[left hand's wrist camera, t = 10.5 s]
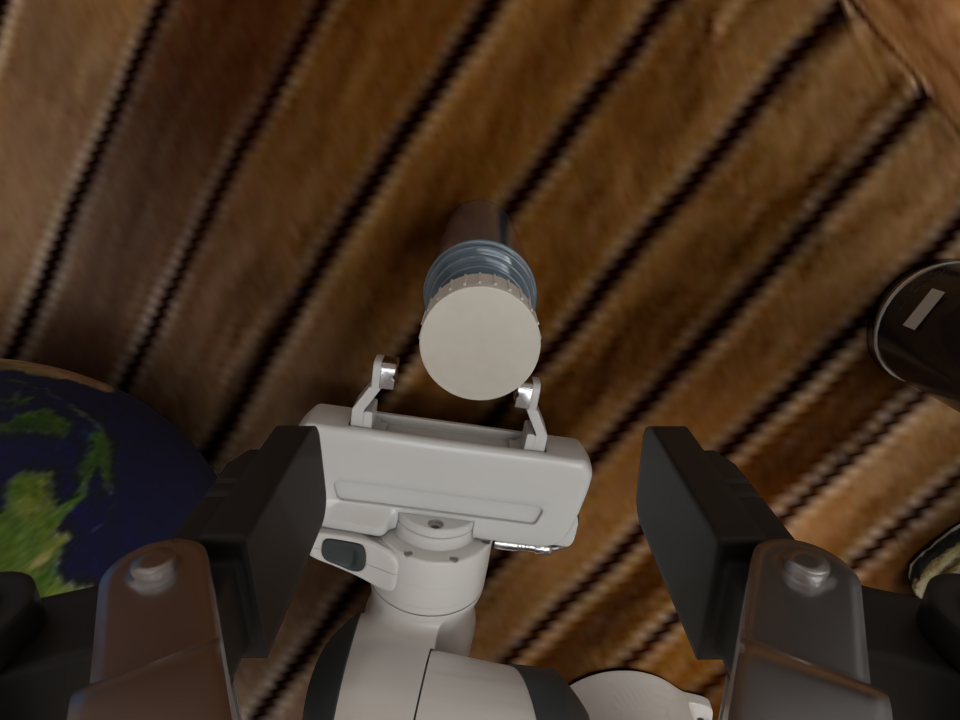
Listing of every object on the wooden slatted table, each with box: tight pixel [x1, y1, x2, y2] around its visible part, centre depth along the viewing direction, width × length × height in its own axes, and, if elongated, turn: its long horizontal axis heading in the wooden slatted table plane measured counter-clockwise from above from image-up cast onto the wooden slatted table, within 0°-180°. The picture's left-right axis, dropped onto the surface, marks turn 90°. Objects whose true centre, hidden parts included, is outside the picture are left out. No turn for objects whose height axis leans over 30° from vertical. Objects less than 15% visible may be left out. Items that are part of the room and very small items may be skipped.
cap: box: [419, 272, 541, 400], centre depth 19 cm, size 4×4×2 cm
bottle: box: [423, 200, 537, 311], centre depth 30 cm, size 5×5×23 cm
